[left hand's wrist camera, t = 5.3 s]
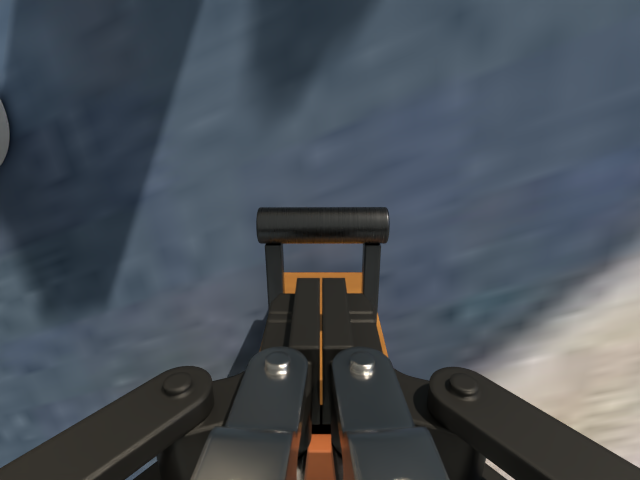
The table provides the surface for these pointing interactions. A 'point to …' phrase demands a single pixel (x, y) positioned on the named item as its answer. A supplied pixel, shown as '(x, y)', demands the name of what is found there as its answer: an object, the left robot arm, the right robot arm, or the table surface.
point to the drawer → (324, 228)
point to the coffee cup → (3, 133)
